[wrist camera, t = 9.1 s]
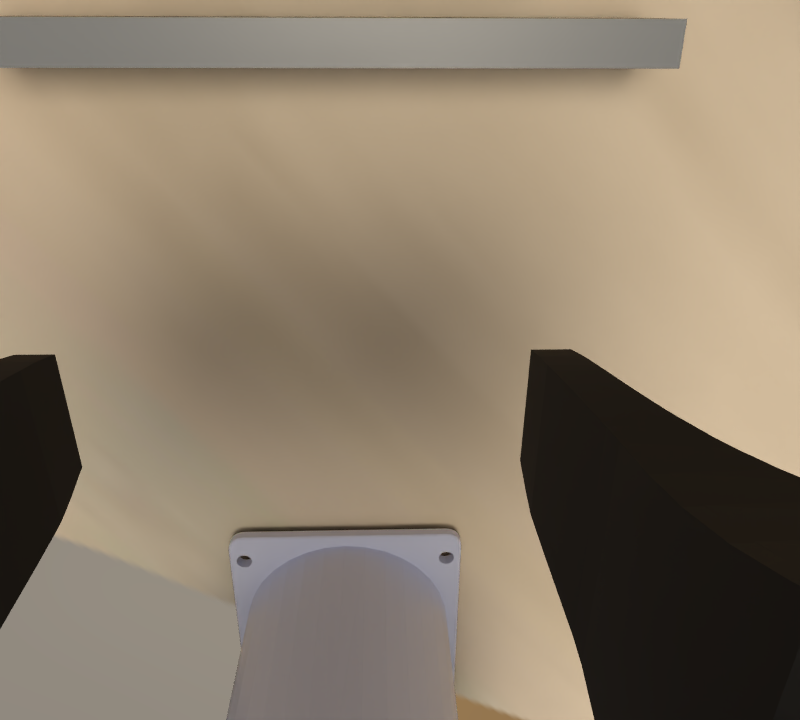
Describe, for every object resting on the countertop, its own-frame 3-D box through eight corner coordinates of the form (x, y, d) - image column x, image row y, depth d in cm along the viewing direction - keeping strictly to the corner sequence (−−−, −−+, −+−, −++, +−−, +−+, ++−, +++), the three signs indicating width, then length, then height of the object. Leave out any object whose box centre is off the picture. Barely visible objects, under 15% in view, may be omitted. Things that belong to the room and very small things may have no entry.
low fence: (635, 60, 19) (678, 68, 16) (13, 59, 18) (-50, 67, 16) (641, 18, 18) (686, 19, 16) (3, 16, 18) (-63, 16, 15)
